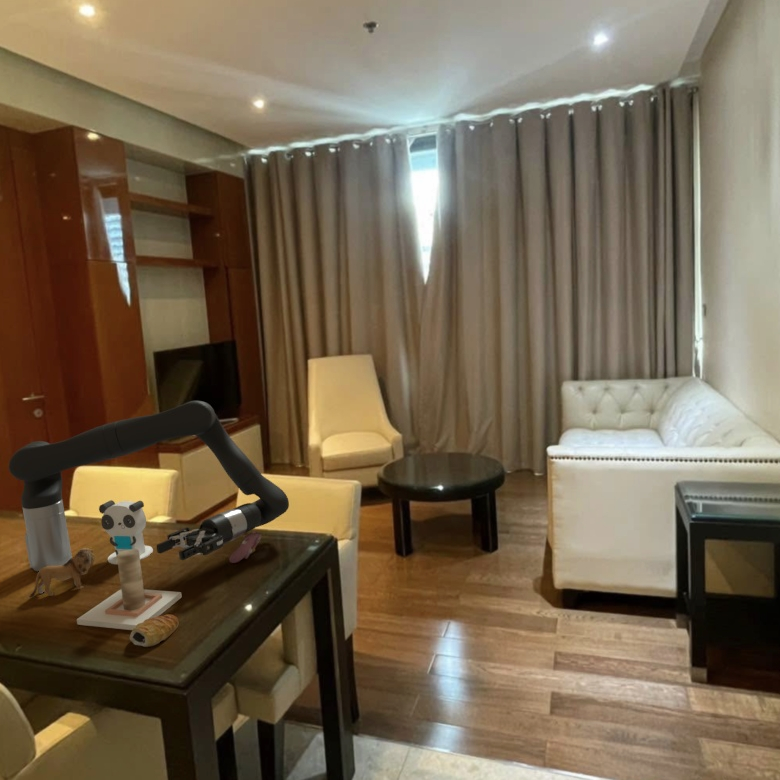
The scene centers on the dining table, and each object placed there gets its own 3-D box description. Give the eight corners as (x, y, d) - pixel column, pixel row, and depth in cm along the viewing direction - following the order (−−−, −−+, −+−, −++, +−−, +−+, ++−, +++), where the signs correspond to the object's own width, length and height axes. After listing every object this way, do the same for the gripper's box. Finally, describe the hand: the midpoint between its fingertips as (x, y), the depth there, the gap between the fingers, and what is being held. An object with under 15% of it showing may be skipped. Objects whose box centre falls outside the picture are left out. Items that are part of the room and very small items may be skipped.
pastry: (164, 620, 127) (162, 603, 126) (187, 626, 123) (185, 609, 123) (127, 644, 118) (124, 626, 118) (150, 652, 115) (148, 633, 115)
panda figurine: (96, 563, 159) (87, 509, 156) (125, 545, 169) (117, 494, 167) (134, 565, 155) (126, 510, 153) (161, 547, 166) (154, 495, 164)
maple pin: (119, 609, 130) (112, 556, 128) (133, 599, 134) (126, 548, 132) (136, 611, 128) (129, 558, 127) (149, 601, 133) (143, 549, 131)
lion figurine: (97, 576, 150) (92, 543, 149) (99, 584, 146) (93, 549, 144) (29, 595, 143) (23, 559, 142) (29, 604, 138) (23, 567, 137)
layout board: (77, 624, 127) (76, 615, 127) (123, 592, 140) (122, 584, 140) (140, 630, 123) (139, 621, 122) (181, 597, 136) (180, 588, 136)
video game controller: (242, 569, 151) (251, 546, 150) (226, 562, 152) (235, 538, 150) (258, 553, 161) (266, 531, 159) (243, 546, 161) (251, 524, 160)
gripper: (203, 509, 154) (148, 532, 141) (241, 517, 146) (186, 542, 133) (207, 537, 156) (152, 562, 142) (245, 546, 148) (190, 574, 134)
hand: (168, 552), depth 138 cm, fingers open, 8 cm apart
